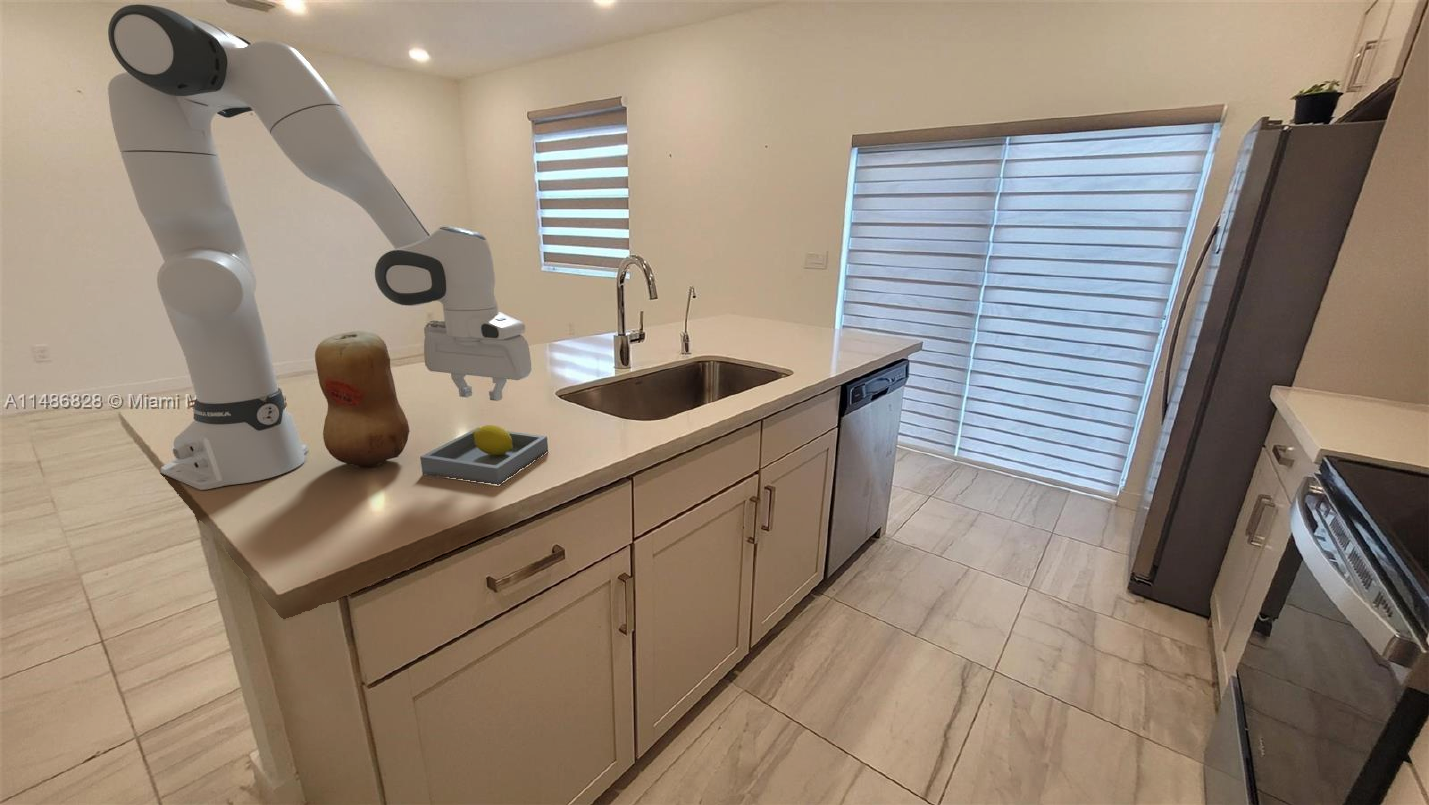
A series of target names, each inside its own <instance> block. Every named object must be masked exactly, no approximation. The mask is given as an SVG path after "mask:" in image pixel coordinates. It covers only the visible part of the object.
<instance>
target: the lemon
mask: <svg viewBox="0 0 1429 805" xmlns="http://www.w3.org/2000/svg"><path fill="white" fill-rule="evenodd" d="M479 428H480V429H478V430H475V431H474V432H473V436H474V441H475V444H476V446H477V447H478V449H480V450H481V451H482V452H484V453H487V454H490V455H503V454H505V453H507V452H508V451H509V450H511V449H512V448H513V445H512V438H511V436H510V434H509V433H508V432H507V430H505V429H503V427H500V426H498V425H493V424H486V425H483V426H481V427H479Z"/></svg>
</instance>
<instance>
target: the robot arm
mask: <svg viewBox="0 0 1429 805" xmlns="http://www.w3.org/2000/svg"><path fill="white" fill-rule="evenodd" d="M107 34H108V36H107V37H108V41H109V46H110V49H111V51H112V54H113V55H114V57H115V59H116V60H117V61H118V63H119V65H120V66H121V67H122V68H123V69H124V70H125V72H121V73H119V74H117V75H115V76H113V77H112V78H111V80H109V83H108V85H107V86H108V88H107V91H108V94H107V95H108V103H109V105H108V106H109V112H110V118H111V124H112V127H113V132H114V136H115V140H116V143H117V146H118V149H119V152H120V156H121V158H122V161H123V164H124V168H125V170H126V173H127V175H128V178H129V182H130V185H131V188H132V191H133V193H134V197H135V199H136V203H137V206H138V209H139V212H140V213H141V214H142V216H143V219H145V221H146V224H147V226H148V228H149V230H150V232H151V235H152V236H153V239H154V240H155V243H156V246H157V247H158V249H159V253H160V255H161V257H162V259H163V261H164V262H163V263H162V264H161V266H160V267H159V269H158V272H157V276H156V286H157V288H158V293H159V295H160V298H161V300H162V303H163V306H164V309H165V312H166V314H167V316H168V319H169V322H170V325H171V328H172V329H173V332H174V334H175V337H176V338H177V341H178V343H179V345H180V348H181V350H182V353H183V355H184V358H185V363H186V365H187V369H188V373H189V376H190V378H191V382H192V387H193V389H194V391H193V392H194V394H195V396H196V399H193V400H189V401H187V403H188V404H189V403H193V404H191V405H189V408H193V409H192V410H193V417H192V418H193V421H191V423H190V424H189V425H187V427H185V429H184V430H182V432H180V433H179V434H178V435H177V436H175V438H174V440H173V448H172V453H173V456H174V457H175V459H173V460H171V461H170V462H167V463H166V464H164V465H162V466H161V467H160V471H161V474H163V475H166V476H168V477H170V478H172V479H174V480H176V481H179V482H181V483H184V484H185V485H188V486H190V487H193V488H195V489H197V490H199V491H200V490H202V491H205V490H206V491H207V490H210V489H214V488H215V489H216V488H220V487H223V486H225V487H226V486H231V485H239V484H240V485H241V484H247V483H248V484H249V483H253V482H259V481H262V480H266V479H270V478H274V477H277V476H280V475H282V474H285V473H288V472H290V471H292V470H294V469H297V468H299V467H300V466H301V465H303V463H304V462H305V461H306V455H305V454H306V453H307V452H308V450H309V448H308V445H307V444H304V443H302V441H301V438H300V435H299V433H298V429H297V427H296V424H295V422H294V418H293V416H292V414H291V413H290V412H288V411H286V410H285V409H286V406H287V405H286V402H285V399H286V398H285V395H283V390H282V389H281V388H280V387H279V386H278V382H277V377H276V374H275V369H274V365H273V360H272V355H271V351H270V347H269V343H268V341H267V337H266V335H265V332H264V327H263V325H262V324H263V323H262V320H261V317H260V313H259V309H258V304H257V301H256V296H255V292H256V288H257V279H256V276H255V275H256V274H255V272H254V268H253V265H252V262H251V258H250V256H249V252H248V249H247V246H246V244H245V240H244V237H243V234H242V231H241V228H240V226H239V222H238V219H237V216H236V213H235V210H234V206H233V204H232V203H233V202H232V200H231V197H230V194H229V193H230V192H229V190H228V187H227V186H228V185H227V182H226V178H225V175H224V172H223V169H222V165H221V162H220V159H219V154H218V151H217V148H216V146H215V141H214V139H213V134H212V126H211V125H212V120H213V118H214V117H215V115H217V114H218V115H219V116H221V117H223V118H226V119H227V118H229V119H230V118H234V117H236V116H239V115H241V114H244V113H248V112H252V111H253V112H254V113H255V114H256V116H257V117H258V118H259V119H260V121H261V123H262V124H263V125H264V127H265V129H266V130H267V131H268V132H269V135H271V137H272V139H273V140H274V141H275V143H276V144H277V146H278V147H279V149H280V150H281V151H282V152H283V154H284V155H285V156H286V158H288V159H289V160H290V162H291V163H292V164H293V165H295V167H296V168H297V169H298V170H299V172H301V173H302V174H303V175H305V176H306V177H307V178H309V179H310V180H311V181H314V182H316V183H318V184H321V185H322V186H325V187H326V188H329V189H330V190H333V191H335V192H337V193H340V194H341V195H344V197H347V198H348V199H350V200H351V201H353V202H355V203H356V204H357V205H358V206H360V207H361V208H362V209H363V210H364V211H365V212H366V213H367V214H368V215H369V216H370V218H371V219H372V220H373V222H374V223H375V225H376V226H377V227H378V228H379V230H380V231H381V232H382V233H383V235H384V236H385V237H386V239H387V240H388V241H389V243H390V244H391V245H392V247H393V248H394V249H392V250H389V251H387V252H385V253H384V254H382V255H381V256H380V258H378V260H377V262H376V263H375V264H376V265H375V268H374V278H375V283H376V285H377V287H378V289H379V290H380V292H381V293H382V295H384V297H386V298H387V299H388V300H390V301H391V302H392V303H395V304H397V305H401V306H406V307H407V306H409V307H410V306H411V307H418V306H421V305H425V304H428V303H431V302H439V303H441V305H442V310H443V318H444V319H443V320H444V321H438V320H430V321H429V322H428V323H426V325H424V328H423V333H424V340H423V355H424V356H423V357H424V365H425V367H426V369H427V370H428V371H429V372H433V373H434V372H436V373H444V374H450V375H451V380H452V382H453V383H454V384H455V386H456V387H457V389H458V394H459V397H460V398H469V397H472V395H473V388H472V386H471V385H468V383H467V381H466V379H465V377H466V376H473V377H474V376H475V377H483V378H492V384H495V385H494V387H493V389H492V390H489V391H488V396H489V400H490V401H494V402H499V401H501V400H502V399H503V390H504V387H505V385H506V384H507V381H508V380H511V381H512V380H513V381H520V380H523V379H525V378H528V376H529V375H530V374H531V372H532V358H531V351H530V346H529V343H528V340H527V338H526V337H524V336H523V335H522V334H525V332H526V326H525V323H524V322H523V321H521V320H518V319H516V318H514V317H512V316H509V315H507V314H505V313H503V312H502V311H499V307H498V306H499V305H498V302H497V300H496V297H495V284H496V275H495V268H494V262H493V257H492V252H491V249H490V245H489V243H488V240H487V238H486V237H485V236H483V234H481V233H480V232H477V231H475V230H471V229H467V228H463V227H462V228H461V227H454V226H440V227H438V228H437V229H436V230H435V231H434V232H432V233H431V234H430V233H429V232H428V230H427V229H426V228H425V226H424V225H423V224H422V222H421V220H420V219H419V218H418V217H417V216H416V214H415V213H414V211H413V210H412V208H411V207H410V206H409V205H408V203H407V202H406V201H405V199H404V198H403V196H402V194H401V193H400V191H398V190H397V188H396V187H395V186H394V184H393V183H392V182H391V180H390V179H389V178H388V176H387V175H386V172H385V171H384V169H383V168H382V167H381V165H380V164H379V162H378V161H377V159H376V157H375V156H374V154H373V153H372V151H371V150H370V149H369V146H368V145H367V143H366V141H365V140H364V138H363V136H362V135H361V133H360V132H359V130H358V129H357V127H356V125H355V124H354V122H353V120H352V119H351V117H350V116H349V114H348V113H347V111H346V110H345V108H344V107H343V105H342V104H341V102H340V101H339V99H338V97H337V96H336V95H335V94H334V92H333V91H332V89H330V87H329V86H328V84H327V82H325V81H324V79H323V78H322V76H320V74H319V73H318V72H317V71H316V69H314V67H313V66H312V64H311V63H310V62H309V61H308V60H306V58H305V57H304V56H303V55H302V54H301V53H300V52H299V51H298V50H296V49H295V48H294V47H292V46H291V45H288V44H286V43H283V42H281V41H275V40H260V41H256V42H253V43H251V42H249V41H248V40H246V39H244V38H243V37H240V36H238V35H235V34H232V33H231V32H228V31H227V30H225V29H223V28H221V27H219V26H217V25H214V24H213V23H210V22H208V21H205V20H201V19H197V18H193V17H191V16H190V17H189V16H187V15H183V14H179V13H177V12H176V11H173V10H171V9H169V8H165V7H161V6H157V5H151V4H129V5H126V6H122V7H121V8H120V9H118V10H117V11H116V12H114V14H113V15H112V17H111V18H110V20H109V24H108V30H107Z"/></svg>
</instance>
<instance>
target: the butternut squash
mask: <svg viewBox="0 0 1429 805" xmlns="http://www.w3.org/2000/svg"><path fill="white" fill-rule="evenodd" d="M314 361H315V366H316V367H315V368H316V372H317V377H318V378H317V379H318V383H319V387H320V389H321V391H322V394H323V396H324V398H325V399H326V402H327V411H326V412H327V413H326V416H325V419H324V423H323V424H324V425H323V430H322V438H323V443H324V446H325V448H326V450H327V451H328V453H329V454H330V455H331V456H332V457H333V458H334V459H336V460H337V461H339V463H340V462H341V463H343V464H347V465H351V466H356V467H358V468H359V467H360V468H374V467H378V466H380V465H381V463H383V462H386V461H388V460H392V459H396V458H398V457H399V456H400V455H401V454H402V453H403V451H404V449H405V447H406V445H407V443H408V439H409V433H410V426H409V421H408V419H407V417H406V415H405V412H404V410H403V408H402V407H401V405H400V402H399V400H398V395H397V391H396V390H397V389H396V385H395V381H394V376H393V374H392V369H391V368H392V367H391V358H390V354H389V351H388V347H387V345H386V343H385V341H384V339H383V338H381V337H380V336H379V335H378V334H376V333H373V332H369V331H362V330H353V331H349V332H347V331H346V332H344V333H338V334H334V335H331V336H329V337H327V338H324V339H323V340H321V342H319V344H318V345H317V347H316V349H315V353H314Z"/></svg>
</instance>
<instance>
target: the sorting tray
mask: <svg viewBox="0 0 1429 805" xmlns="http://www.w3.org/2000/svg"><path fill="white" fill-rule="evenodd" d="M480 428H481V427H480V426H479V427H477V428H475V429H472V430H470V431H468V432H467V433H465V434H463V435H460V436H459V437H457V438H455V439H452V440H450V441H448V442H446V443H445V444H442V445H441V446H439V447H437V448H435V449H433V450H431V451H429V452H427V453H424V454H423V455H421V456H420V458H419V459H420V464H421V472H422V475H423V474H426V475H425V476H429V475H432V476H431V477H435V476H439V477H438V478H442V477H449V478H456V479H463V480H470V481H476V482H484V483H491V484H497V485H499V484H501V483H502V482H503V481H505V480H506V479H507V478H509V477H511V476H513V475H514V474H516V473H517V472H518V471H519V470H520V469H522V468H525V467H526V466H527V465H529V464H530V463H532V462H533V461H534V460H537V459H538V458H540V457H541V456H542V455H544V454H545V453H546V452H548V453H549V446H548V445H549V444H548V435H547V436H546V435H541V434H540V435H538V434H531V433H524V432H518V431H517V432H516V431H509V430H508V431H507V430H506V431H507V432H508V433H509V434H510V436H511V438H512V445H513V448H512V449H511V450H509V451H508V452H507V453H505V454H503V455H490V454H487V453H484V452H482V451H481V450H480V449H478V447H477V446H476V444H475V441H474V436H473V432H474V431H475V430H478V429H480ZM545 455H546V454H545ZM545 455H544V456H545ZM541 458H542V457H541ZM541 458H540V459H541ZM538 460H539V459H538ZM538 460H537V461H538ZM525 469H526V468H525Z"/></svg>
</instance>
